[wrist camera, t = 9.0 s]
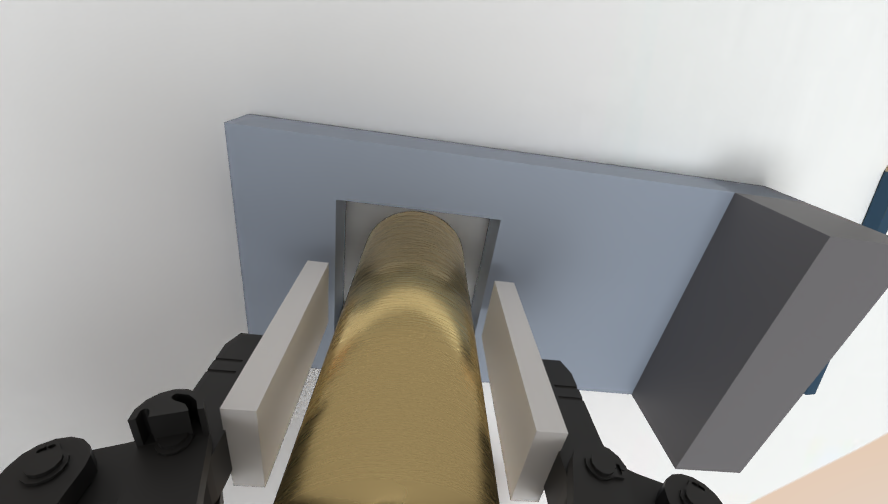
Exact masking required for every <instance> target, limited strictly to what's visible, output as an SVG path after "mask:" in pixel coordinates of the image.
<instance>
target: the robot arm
mask: <svg viewBox="0 0 888 504" xmlns="http://www.w3.org/2000/svg"><path fill="white" fill-rule="evenodd" d="M328 285H329V263H326V262H317V261H307V262H306V264H305V266H304V267H303V269H302V271H301V272H300V274H299V276H298V277H297V279H296V281H295V282H294V284H293V286H292V288H291V289H290V291H289V293H288V294H287V296H286V298H285V299H284V301H283V303H282V304H281V306H280V308H279V309H278V311H277V313H276V314H275V316H274V318H273V320H272V321H271V323H270V325H269V326H268V328H267V330H266V331H265V333H264V335H256V334H245V333H240V334H239V335H238V336H236V337H235V338H233V339H232V340H231V341H229V342H228V343H226V344H225V346H224V347H223V348H222V350H221V351H220V353H219V354H218V356H217V357H216V360H214V361H213V363H212V364H211V365H210V367H209V368H208V371H207V372H206V373H205V374H204V375H203V377H202V378H201V380H200V381H199V382H198V384H197V385H196V387H195V388H194V390H193V391H191V390H188V389H175V390H171V391H167V392H163V393H160V394H158V395H156V396H154V397H152V398H150V399H148V400H146V401H145V402H143V403H142V404H141V405H140V406H139V407H137V408H136V409H135V410H134V412H133V413H132V415H131V416H130V418H129V419H128V423H129V426H130V429H131V432H132V434H133V437H134V440H135V441H133V442H129V443H125V444H120V445H115V446H110V447H105V448H100V449H95V450H92V449H91V446H90V445H89V444H88V443H87V442H86V441H85V440H84V439H81V438H75V437H67V438H59V439H54V440H52V441H49V442H46V443H43V444H40V445H38V446H36V447H34V448H33V449H31V450H29V451H27V452H26V453H24V454H22V455H21V456H19V457H18V458H17V459H16V460H15V461H14V462H12V463H11V464H10V465H9V466H8V467H7V468H6V469H5V470H4V471H3V472H2V473H1V474H0V504H224V501H223V492H222V490H223V488H224V486H225V484H226V482H227V480H228V478H229V476H230V474H231V475H232V480H233V485H234V486H252V487H265V486H266V484H267V481H268V479H269V476H270V473H271V471H272V468H273V465H274V463H275V460H276V458H277V455H278V452H279V450H280V447H281V445H282V442H283V439H284V437H285V434H286V431H287V429H288V426H289V424H290V421H291V418H292V416H293V413H294V410H295V408H296V405H297V403H298V400H299V397H300V395H301V392H302V389H303V387H304V384H305V382H306V379H307V376H308V374H309V371H310V369H311V366H312V363H313V361H314V358H315V355H316V353H317V350H318V348H319V345H320V342H321V340H322V337H323V334H324V332H325V329H326V327H327V324H328ZM482 342H483V348H484V353H485V359H486V364H487V370H488V376H489V381H490V387H491V393H492V398H493V404H494V410H495V415H496V421H497V426H498V432H499V438H500V443H501V449H502V455H503V460H504V466H505V472H506V477H507V483H508V488H509V494H510V500H512V501H531V502H539V500H540V497H541V495H542V493H543V490H545V494H546V498H547V502H548V504H722V502H721V501H720V500H719V498H718V497H717V496H716V494H715V493H713V492H712V491H711V490H710V489H709V488H708V487H707V486H706V485H705V484H703V483H701V482H700V481H698V480H696V479H694V478H693V477H690V476H686V475H683V474H673V475H671V476H670V477H668V478H667V479H666V480H665V482H664V483H661V482H658V481H655V480H652V479H650V478H647V477H644V476H642V475H639V474H636V473H634V472H632V471H630V470H628V469H627V468H626V466H625V465H624V463H623V462H622V461H621V459H620V458H619V457H618V456H617V455H616V454H615V453H613V452H612V451H611V450H610V449H608V448H606V447H604V446H603V444H602V442H601V440H600V437H599V435H598V433H597V430H596V428H595V426H594V424H593V421H592V419H591V417H590V414H589V412H588V410H587V408H586V405H585V403H584V401H582V396H581V394H580V392H579V389H577V385H576V382H575V380H574V378H573V376H572V373H571V372H570V371H569V370H568V369H567V368H566V367H565V365H564V364H563V363H562V362H561V361H559V360H548V359H541V356H540V353H539V351H538V348H537V345H536V342H535V340H534V337H533V334H532V331H531V329H530V326H529V323H528V320H527V317H526V315H525V312H524V309H523V306H522V304H521V301H520V298H519V295H518V292H517V290H516V287H515V284H514V283H512V282H503V281H495V282H494V286H493V290H492V294H491V298H490V303H489V307H488V311H487V315H486V319H485V324H484V328H483V332H482Z"/></svg>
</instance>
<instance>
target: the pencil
mask: <svg viewBox="0 0 888 504" xmlns="http://www.w3.org/2000/svg"><path fill="white" fill-rule="evenodd" d="M862 225H863V226H866V227H868V228H871V229H873V230H876V231H878V232H881V233H883V234H885V235H886V233H887V231H888V166H887V168H886V169H885V171H884V173H883V176H882V178H881V180H880V183H879V185H878V187H877V190H876V192H875V195H874V197H873V199H872V202H871V204H870V207H869V209H868V212H867V214H866V216H865V219H864V221H863V224H862ZM828 364H829V362H828V363H827V365H826V366H825V367H824V368H823V370H822V371H821V372H820V373H819V375H818V376H817V377H816V378H815V380H814V381H813V382H812V383H811V385H810V386H809V387H808V388H807V390H806V391H805V392H804V393H803V394H805V395H811V394H815V393H816V390H817V388H818V386H819V384H820V382H821V379H822V377H823V375H824V373H825V370H826V368H827V366H828Z"/></svg>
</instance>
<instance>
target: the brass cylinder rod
mask: <svg viewBox="0 0 888 504" xmlns="http://www.w3.org/2000/svg"><path fill="white" fill-rule="evenodd" d="M273 504H499V498H498V491H497V484H496V477H495V470H494V463H493V456H492V450H491V443H490V436H489V429H488V422H487V415H486V408H485V401H484V394H483V388H482V381H481V374H480V367H479V360H478V353H477V346H476V339H475V333H474V326H473V319H472V312H471V305H470V298H469V291H468V284H467V277H466V271H465V264H464V257H463V250H462V245H461V242H460V240H459V238H458V236H457V234H456V233H455V231H454V230H453V229H452V228H451V227H450V226H449V225H448V224H447V223H446V222H445V221H443V220H442V219H440V218H438V217H436V216H434V215H431V214H428V213H424V212H416V211H409V212H402V213H398V214H394V215H392V216H390V217H388V218H386V219H384V220H383V221H381V222H380V223H379V224H378V225H377V226H376V227H375V228H374V229H373V231H372V232H371V234H370V235H369V237H368V240H367V242H366V245H365V248H364V251H363V253H362V256H361V259H360V262H359V265H358V268H357V270H356V273H355V276H354V279H353V282H352V284H351V287H350V290H349V293H348V296H347V298H346V301H345V304H344V307H343V310H342V312H341V315H340V318H339V321H338V324H337V326H336V329H335V332H334V335H333V338H332V341H331V343H330V346H329V349H328V352H327V355H326V357H325V360H324V363H323V366H322V369H321V371H320V374H319V377H318V380H317V383H316V385H315V388H314V391H313V394H312V397H311V399H310V402H309V405H308V408H307V411H306V414H305V416H304V419H303V422H302V425H301V428H300V430H299V433H298V436H297V439H296V442H295V444H294V447H293V450H292V453H291V456H290V458H289V461H288V464H287V467H286V470H285V472H284V475H283V478H282V481H281V484H280V487H279V489H278V492H277V495H276V498H275V501H274V503H273Z"/></svg>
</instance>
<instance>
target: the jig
mask: <svg viewBox="0 0 888 504" xmlns="http://www.w3.org/2000/svg"><path fill="white" fill-rule="evenodd" d="M224 125H225V134H226V142H227V151H228V160H229V168H230V177H231V186H232V194H233V203H234V212H235V220H236V229H237V238H238V246H239V255H240V264H241V272H242V281H243V290H244V298H245V307H246V316H247V324H248V333H249V334H256V335H264V333H265V331H266V330H267V328H268V326H269V325H270V323H271V321H272V320H273V318H274V316H275V314H276V313H277V311H278V309H279V308H280V306H281V304H282V303H283V301H284V299H285V298H286V296H287V294H288V293H289V291H290V289H291V288H292V286H293V284H294V282H295V281H296V279H297V277H298V276H299V274H300V272H301V271H302V269H303V267H304V266H305V264H306V262H307V261H317V262H326V263H329V285H328V324H327V327H326V329H325V332H324V334H323V337H322V340H321V342H320V345H319V348H318V350H317V353H316V355H315V358H314V361H313V363H312V366H311V368H319V369H322V366H323V363H324V360H325V357H326V355H327V352H328V349H329V346H330V343H331V341H332V338H333V335H334V332H335V329H336V326H337V324H338V321H339V318H340V315H341V312H342V310H343V307H344V306H343V293H344V256H345V219H346V201H351V202H360V203H368V204H376V205H384V206H392V207H400V208H408V209H417V210H425V211H433V212H441V213H449V214H457V215H465V216H474V217H482V218H490V222H489V227H488V231H487V236H486V241H485V245H484V250H483V255H482V259H481V264H480V269H479V273H478V278H477V283H476V287H475V292H474V297H473V301H472V306H471V312H472V319H473V326H474V333H475V339H476V346H477V353H478V360H479V367H480V374H481V381H482V382H489V383H490V381H489V376H488V370H487V364H486V359H485V353H484V348H483V342H482V332H483V328H484V324H485V319H486V315H487V311H488V307H489V303H490V298H491V294H492V290H493V286H494V282H495V281H503V282H512V283H514V284H515V287H516V290H517V292H518V295H519V298H520V301H521V304H522V306H523V309H524V312H525V315H526V317H527V320H528V323H529V326H530V329H531V331H532V334H533V337H534V340H535V342H536V345H537V348H538V351H539V353H540V356H541V359H548V360H559V361H561V362H562V363H563V364H564V365H565V367H566V368H567V369H568V370H569V371H570V372H571V373H572V376H573V378H574V380H575V382H576V385H577V389H579V390H586V391H598V392H610V393H622V394H632V396H633V398H634V399H635V401H636V403H637V404H638V406H639V408H640V409H641V411H642V413H643V415H644V416H645V418H646V420H647V421H648V423H649V425H650V427H651V428H652V430H653V432H654V433H655V435H656V437H657V438H658V440H659V442H660V444H661V445H662V447H663V449H664V450H665V452H666V454H667V456H668V457H669V459H670V461H671V462H672V464H673V466H674V467H675V469H687V470H703V471H718V472H734V473H740V472H741V471H742V470H743V469H744V467H745V466H746V465H747V464H748V462H749V461H750V460H751V459H752V457H753V456H754V455H755V454H756V452H757V451H758V450H759V448H760V447H761V446H762V445H763V443H764V442H765V441H766V440H767V438H768V437H769V436H770V435H771V433H772V432H773V431H774V430H775V428H776V427H777V426H778V425H779V423H780V422H781V421H782V420H783V418H784V417H785V416H786V415H787V413H788V412H789V411H790V410H791V408H792V407H793V406H794V405H795V403H796V402H797V401H798V400H799V398H800V397H801V396H802V395H803V393H804V392H805V391H806V390H807V388H808V387H809V386H810V385H811V383H812V382H813V381H814V380H815V378H816V377H817V376H818V375H819V373H820V372H821V371H822V370H823V368H824V367H825V366H826V365H827V363H828V362H829V361H830V360H831V358H832V357H833V356H834V355H835V353H836V352H837V351H838V350H839V348H840V347H841V346H842V345H843V343H844V342H845V341H846V340H847V338H848V337H849V336H850V334H851V333H852V332H853V331H854V329H855V328H856V327H857V326H858V324H859V323H860V322H861V321H862V319H863V318H864V317H865V316H866V314H867V313H868V312H869V311H870V309H871V308H872V307H873V306H874V304H875V303H876V302H877V301H878V299H879V298H880V297H881V296H882V294H883V293H884V292H885V291H886V289H887V288H888V235H885V234H883V233H881V232H878V231H876V230H873V229H871V228H868V227H866V226H863V225H861V224H858V223H856V222H853V221H851V220H848V219H846V218H843V217H841V216H838V215H836V214H833V213H831V212H828V211H826V210H823V209H821V208H818V207H816V206H813V205H811V204H808V203H806V202H803V201H801V200H798V199H796V198H793V197H791V196H788V195H786V194H783V193H781V192H778V191H776V190H773V189H771V188H768V187H766V186H759V185H751V184H744V183H737V182H730V181H723V180H716V179H709V178H702V177H694V176H687V175H680V174H673V173H666V172H659V171H652V170H644V169H637V168H630V167H623V166H616V165H609V164H602V163H594V162H587V161H580V160H573V159H566V158H559V157H552V156H544V155H537V154H530V153H523V152H516V151H509V150H502V149H494V148H487V147H480V146H473V145H466V144H459V143H452V142H444V141H437V140H430V139H423V138H416V137H409V136H402V135H394V134H387V133H380V132H373V131H366V130H359V129H352V128H344V127H337V126H330V125H323V124H316V123H309V122H302V121H294V120H287V119H280V118H273V117H266V116H259V115H252V114H248V115H245V116H242V117H239V118H236V119H233V120H230V121H227V122H224Z"/></svg>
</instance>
